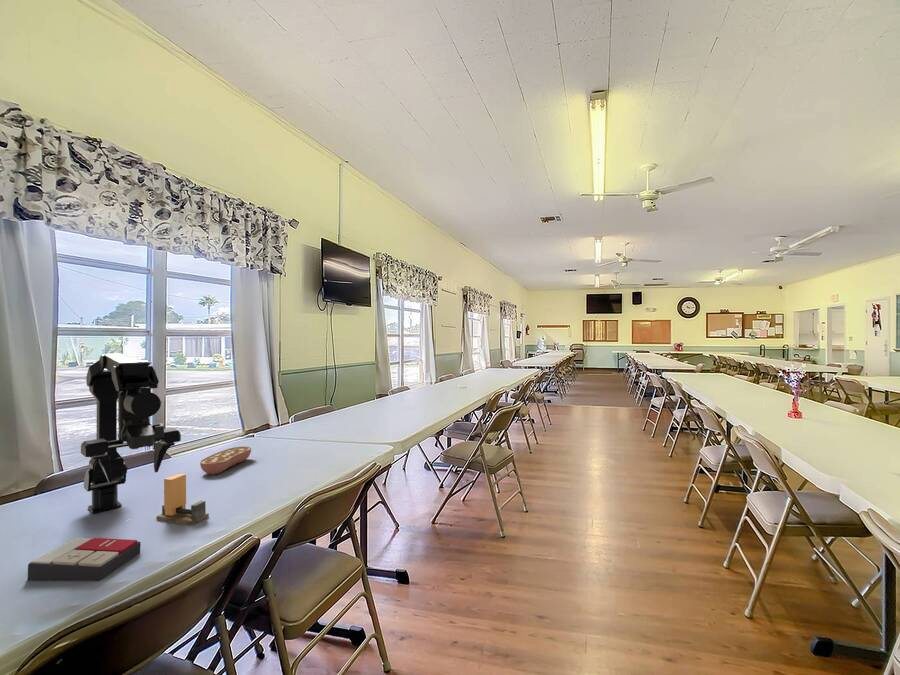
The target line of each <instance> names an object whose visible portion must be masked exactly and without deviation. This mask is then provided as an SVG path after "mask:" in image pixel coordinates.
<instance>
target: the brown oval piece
mask: <svg viewBox="0 0 900 675" xmlns="http://www.w3.org/2000/svg"><path fill="white" fill-rule="evenodd" d="M251 454H252V447H251V446H234V447H230V448H227V449H224V450H221V451H218V452H216V453H213V454H211V455H209V456H207V457H205V458H203V459H202V460H200V461H199V462H200V463H199V465H200V468H201V470H202V471H203V472H204V473H206V474H208V475H218V474H221V473H222V472H223V471H225V470H227V469H228V468H231V467H233V466H235V465H238V464H240V463H242V462H244V461H246V460H247V459H248V458H249V457H250V455H251ZM237 463H238V464H237Z"/></svg>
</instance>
